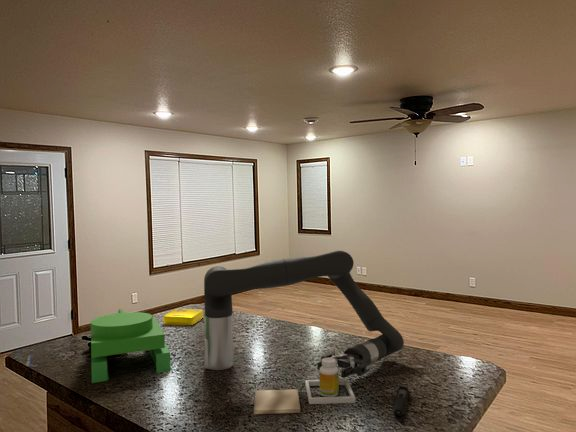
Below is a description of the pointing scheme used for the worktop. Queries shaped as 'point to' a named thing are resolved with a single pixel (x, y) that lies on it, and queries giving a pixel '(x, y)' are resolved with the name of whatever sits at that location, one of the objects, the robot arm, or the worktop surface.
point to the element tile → (183, 317)
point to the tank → (126, 340)
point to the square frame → (329, 399)
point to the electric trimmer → (401, 401)
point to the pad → (276, 401)
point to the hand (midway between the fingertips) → (330, 370)
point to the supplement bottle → (329, 378)
